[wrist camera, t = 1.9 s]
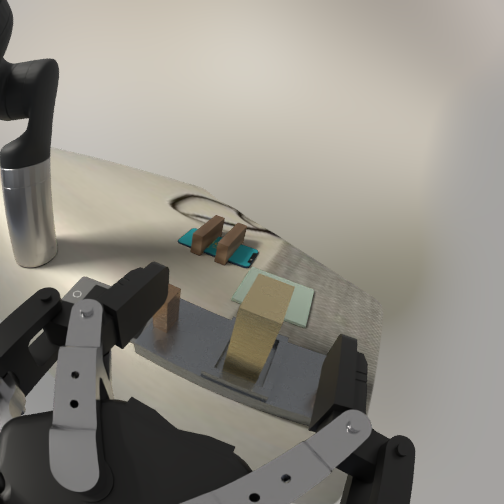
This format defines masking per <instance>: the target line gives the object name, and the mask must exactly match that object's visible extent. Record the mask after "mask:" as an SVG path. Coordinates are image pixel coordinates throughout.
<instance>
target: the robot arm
mask: <svg viewBox="0 0 504 504" xmlns="http://www.w3.org/2000/svg"><path fill="white" fill-rule="evenodd" d="M12 27H13V14H12V11H11V8H10V6H9V4H8V2H7V0H0V120H4V121H11V120H18V119H24V118H29V122H28V127H27V130H26V131H25V132H24V133H23V134H22V135H21V136H20V137H19V138H17V139H15V140H13V141H12V142H10V143H8V144H6V145H5V146H4V147H3V148H2V149H1V151H0V168H1V181H2V190H3V198H4V206H5V212H6V218H7V224H8V229H9V234H10V239H11V244H12V248H13V253H14V257H15V260H16V262H17V263H18V264H19V265H20V266H23V267H37V266H40V265H43V264H45V263H47V262H49V261H50V260H51V259H52V258H53V257H54V256H55V255H56V253H57V250H58V248H57V241H56V234H55V225H54V217H53V206H52V193H51V174H50V145H51V135H52V122H53V113H54V106H55V98H56V93H57V87H58V80H59V68H58V64H57V62H56V61H55V60H54V59H40V60H34V61H28V62H22V63H16V64H12V63H9V62H7V61H6V60H5V59H4V58H3V56H4V54H5V51H6V49H7V46H8V43H9V40H10V37H11V34H12ZM168 285H169V268H168V267H166V266H164V265H161V264H159V263H157V262H151V263H150V264H149V265H148V266H146V267H145V268H144V269H143V268H141V267H140V268H137V269H135V270H132V271H130V272H129V273H127V274H126V275H125V276H124V277H123V278H121V279H120V280H119V281H118V282H117V283H115V284H114V285H113V286H111V287H110V288H109V289H108V290H107V291H105V292H104V293H103V294H102V295H100V296H99V297H98V298H97V299H96V300H93V299H83V300H80V301H78V302H77V303H75V304H74V303H71V302H67V301H64V300H61V298H60V294H59V292H58V291H57V290H56V289H54V288H43V289H40V290H39V291H37V292H36V293H35V294H34V295H32V296H31V297H30V298H29V299H28V300H26V301H25V302H24V303H23V304H22V305H21V306H19V307H18V308H17V309H16V310H15V311H14V312H13V313H11V314H10V315H9V316H8V317H7V318H6V319H5V320H4V321H3V322H1V324H0V504H290V503H291V502H293V501H294V500H296V499H297V498H299V497H300V496H302V495H303V494H304V493H306V492H307V491H309V490H310V489H311V488H313V487H314V486H315V485H317V484H318V483H319V482H321V481H322V480H323V479H324V478H326V477H327V476H328V475H329V474H330V473H331V472H332V470H333V469H334V468H335V467H336V468H338V469H339V470H341V471H343V472H345V473H347V474H348V476H347V480H346V484H345V488H344V491H343V495H342V498H341V502H340V504H410V498H411V491H412V483H413V474H414V463H415V447H414V445H413V443H412V442H411V440H410V439H408V438H407V437H405V436H401V435H397V436H394V437H392V438H391V439H389V438H387V437H385V436H383V435H382V434H380V433H378V432H376V431H375V430H374V429H372V425H371V422H370V420H369V418H368V417H367V416H366V397H367V384H366V383H367V365H368V364H367V361H366V359H365V356H364V354H362V353H359V352H357V339H355V338H352V337H349V336H346V335H343V334H340V335H339V336H338V338H337V340H336V341H335V343H334V345H333V346H332V348H331V349H330V351H329V353H328V354H327V356H326V358H325V360H324V362H323V365H322V368H321V373H320V379H319V384H318V389H317V394H316V399H315V404H314V408H313V413H312V417H311V422H310V426H309V431H313V432H316V434H314V435H313V436H312V437H310V438H309V439H307V440H306V441H303V442H301V443H299V444H298V445H296V446H295V447H293V448H292V449H290V450H289V451H287V452H285V453H284V454H282V455H281V456H279V457H277V458H276V459H274V460H272V461H271V462H269V463H267V464H265V465H264V466H262V467H260V468H258V469H257V470H255V471H252V470H251V468H250V467H249V466H248V464H247V463H246V462H245V461H244V460H243V459H241V458H240V457H239V456H238V455H236V454H235V453H233V451H234V449H235V446H232V445H230V444H227V443H225V442H222V441H220V440H217V439H215V438H212V437H210V436H207V435H202V434H197V433H192V432H187V431H183V430H179V429H177V428H175V427H174V426H173V425H172V424H170V423H169V422H168V421H167V420H166V419H165V418H163V417H162V416H161V415H160V414H159V413H158V412H157V411H155V410H154V409H152V408H150V407H149V406H147V405H145V404H143V403H142V402H140V401H138V400H137V399H135V398H133V397H131V398H130V399H129V401H128V402H126V401H122V400H115V399H114V395H113V390H112V374H111V348H112V347H113V346H114V345H116V346H118V347H120V348H121V349H123V348H124V347H125V346H126V345H127V344H128V343H129V342H130V341H131V340H132V338H133V337H134V336H135V335H136V334H137V333H138V332H139V331H140V330H141V329H142V328H143V326H144V325H145V324H146V323H147V322H148V321H149V320H150V319H151V318H152V317H153V316H154V315H155V313H156V312H157V311H158V310H159V309H160V308H161V307H162V306H163V305H164V303H165V301H166V299H167V296H168ZM42 328H43V330H44V332H43V333H42V334H41V335H40V336H39V337H38V338H37V339H36V340H35V341H34V342H33V343H32V344H31V345H30V346H29V347H28V345H29V342H30V340H31V339H32V338H33V337H34V336H35V335H36V334H37V333H38V332H39V331H40V330H41V329H42ZM56 361H57V368H56V377H55V388H54V389H55V390H54V403H53V411H48V412H43V413H37V414H31V415H24V416H21V415H23V414H24V413H25V403H26V400H25V397H26V396H27V395H28V393H29V392H30V391H31V390H32V389H33V387H34V386H35V385H36V384H37V383H38V381H39V380H40V379H41V378H42V377H43V376H44V375H45V373H46V372H47V371H48V370H49V369H50V368H51V367H52V365H53V364H54V363H55V362H56Z"/></svg>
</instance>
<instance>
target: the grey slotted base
mask: <svg viewBox="0 0 504 504" xmlns="http://www.w3.org/2000/svg"><path fill="white" fill-rule="evenodd" d="M180 293H181V289H180V288H177V287H175V286H173V285H171V284H169V285H168V296H167V299H166V301H165V303H164V305H163V306H162V307H161V308H160V309H159V310H158V311H157V312H156V313H155V315H154V316H153V321H152V322H151V324H150V325H149V326H148V327H147V328H146V329H145V330H144V331H143V333H142V334H141V335H140V336H139V337H138V338H137V339H136V340H135V342H134V347H135V352H136V353H137V354H139V355H141V356H143V357H145V358H146V359H148V360H150V361H152V362H154V363H155V364H157V365H159V366H161V367H163V368H165V369H167V370H169V371H171V372H173V373H175V374H177V375H179V376H181V377H183V378H185V379H187V380H189V381H191V382H193V383H195V384H197V385H199V386H202V387H204V388H206V389H208V390H211V391H213V392H215V393H217V394H220V395H222V396H225V397H227V398H229V399H232V400H234V401H237V402H239V403H242V404H245V405H247V406H250V407H252V408H255V409H258V410H261V411H263V412H266V413H269V414H272V415H275V416H278V417H281V418H284V419H287V420H291V421H294V422H297V423H300V424H304V425H307V426H310V422H311V417H312V413H313V408H314V404H315V399H316V394H317V389H318V384H319V379H320V373H321V368H322V365H323V362H324V360H325V358H326V355H323V354H320V353H317V352H314V351H311V350H308V349H306V348H303V347H300V346H297V345H294V344H291V343H289V342H288V339H289V338H288V337H285V336H282V335H279V334H278V335H277V337H276V340H275V342H274V344H273V347H272V349H271V351H270V353H269V356H268V358H267V360H266V362H265V364H264V367H263V369H262V371H261V373H260V375H259V377H258V379H257V382H256V384H255V383H253V382H250V381H248V380H245V379H242V378H240V377H237V376H235V375H233V374H230V373H228V372H225V371H223V370H222V369H223V365H224V362H225V358H226V354H227V351H228V347H229V343H230V339H231V336H232V332H233V328H234V325H235V321H236V317H233V318H232V320H229V319H227V318H224V317H222V316H220V315H217V314H215V313H213V312H210V311H208V310H206V309H203V308H201V307H199V306H196V305H194V304H192V303H190V302H187V301H185V300H183V299H181V298H180Z"/></svg>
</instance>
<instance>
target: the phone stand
mask: <svg viewBox="0 0 504 504" xmlns="http://www.w3.org/2000/svg"><path fill="white" fill-rule="evenodd" d="M224 219H225V218H223V217H220V216H217V215H216V216H214V217H213V218H212V219H210V220H209V221H208V222H207V223H205V224H204V225H203V226H202V227H200V228H199V229H198V230H196V231H195V232H194V233H193V236H192V244H191V252H192V253H194V254H197V255H199V256H200V255H201V254H202V253H203V251H204V250H205V249H206V248H207V247H208V246H209V245H210V244H211V243H212V242H213V241H215V240H216V239H217V238H218V237H220V236H221V234H222V229H223V224H224ZM246 229H247V226H246V225H243V224H240V223H237V224H236V225H235V226H234V227H233V228H232V229H231V230H230V231H229V232H228V233H227V234H226V235H225V236H224V237H223V238H222V239H221V240H220V241H219V242H218V245H217V251H216V256H215V262H217V263H220V264H222V265H225V264H226V263H227V262H228V259H229V258H230V257H231V256H232V255H233V253H234V252H235V251H236V250H237V249H238V247H239V246H240V245H241V244H242V243H243V241H244V237H245V233H246Z"/></svg>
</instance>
